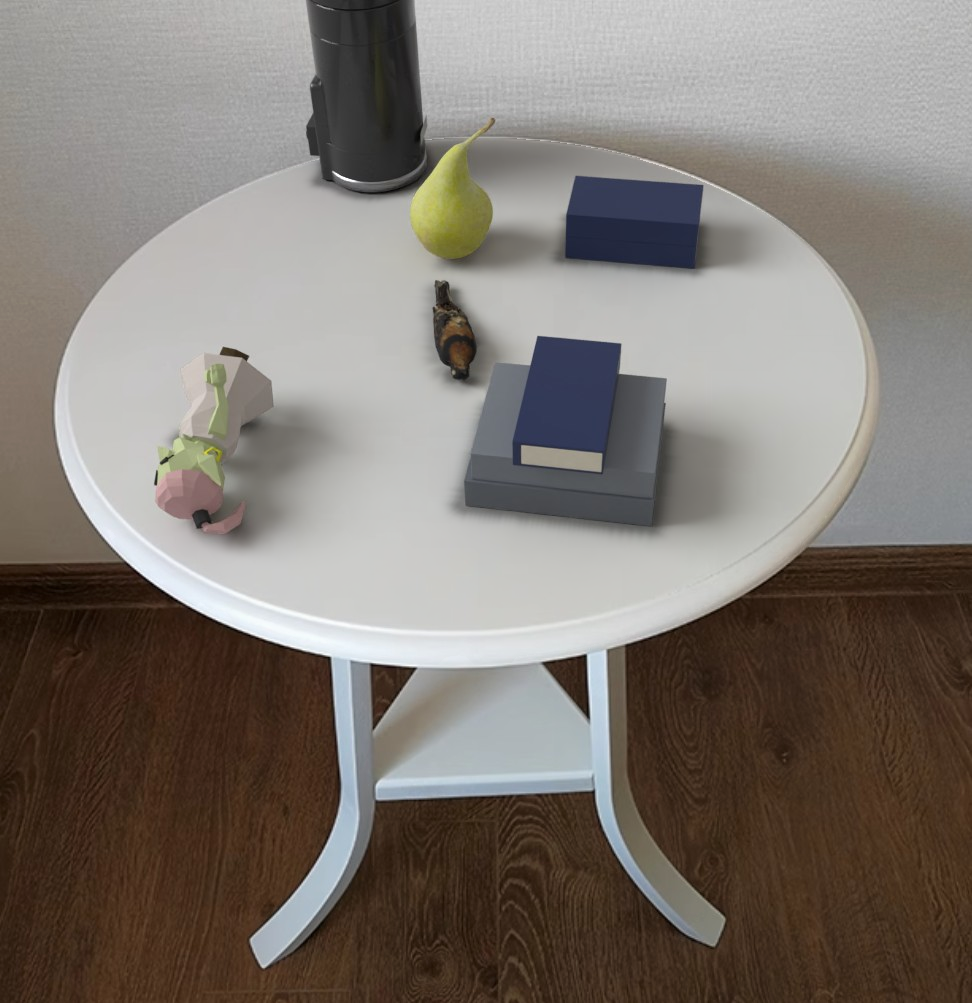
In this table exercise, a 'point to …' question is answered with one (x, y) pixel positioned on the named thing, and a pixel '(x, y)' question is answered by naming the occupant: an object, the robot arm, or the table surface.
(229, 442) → the figurine
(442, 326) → the bird model
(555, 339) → the navy book
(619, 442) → the grey stack
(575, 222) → the navy stack
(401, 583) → the table surface
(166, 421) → the table surface
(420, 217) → the fruit
